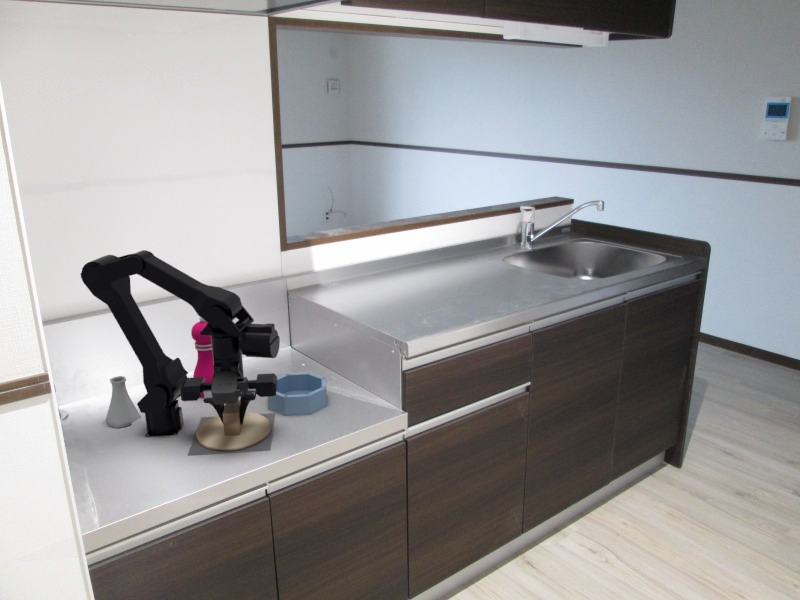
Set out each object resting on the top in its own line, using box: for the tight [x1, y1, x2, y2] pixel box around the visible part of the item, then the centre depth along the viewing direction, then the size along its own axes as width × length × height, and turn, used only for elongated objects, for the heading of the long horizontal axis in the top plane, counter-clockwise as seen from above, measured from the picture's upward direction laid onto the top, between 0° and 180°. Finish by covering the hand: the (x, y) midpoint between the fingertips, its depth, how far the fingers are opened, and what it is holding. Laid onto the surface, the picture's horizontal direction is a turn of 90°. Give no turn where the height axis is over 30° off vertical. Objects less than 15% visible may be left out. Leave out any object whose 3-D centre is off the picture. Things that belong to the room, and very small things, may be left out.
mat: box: [187, 412, 276, 457], centre depth 134 cm, size 16×16×1 cm
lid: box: [195, 399, 270, 451], centre depth 133 cm, size 15×15×6 cm
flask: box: [105, 375, 142, 429], centre depth 139 cm, size 7×7×10 cm
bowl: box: [267, 372, 328, 417], centre depth 147 cm, size 13×13×5 cm
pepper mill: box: [190, 316, 214, 399], centre depth 150 cm, size 7×7×20 cm
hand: (233, 424), depth 133 cm, fingers closed on lid, 3 cm apart
